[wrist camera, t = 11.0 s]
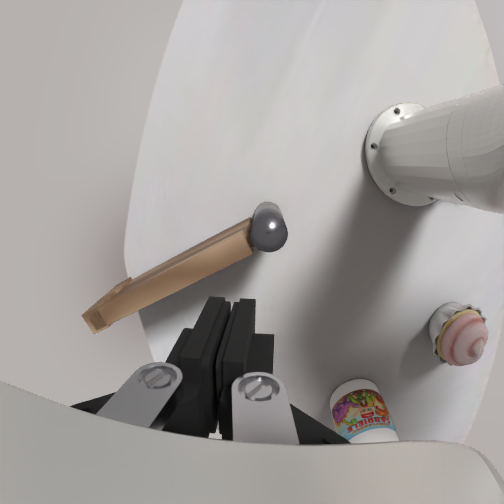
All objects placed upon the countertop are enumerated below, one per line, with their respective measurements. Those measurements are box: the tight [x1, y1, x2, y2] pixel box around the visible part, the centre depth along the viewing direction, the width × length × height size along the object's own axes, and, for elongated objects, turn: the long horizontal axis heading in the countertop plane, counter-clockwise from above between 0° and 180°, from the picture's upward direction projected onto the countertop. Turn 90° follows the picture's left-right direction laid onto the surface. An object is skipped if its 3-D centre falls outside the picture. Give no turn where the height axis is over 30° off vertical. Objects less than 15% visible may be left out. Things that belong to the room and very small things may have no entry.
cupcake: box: [429, 302, 488, 366], centre depth 34 cm, size 9×9×10 cm
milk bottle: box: [330, 379, 399, 443], centre depth 33 cm, size 8×8×20 cm
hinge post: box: [250, 202, 288, 252], centre depth 31 cm, size 3×3×11 cm
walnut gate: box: [82, 217, 255, 334], centre depth 32 cm, size 2×19×9 cm, turn 118°
